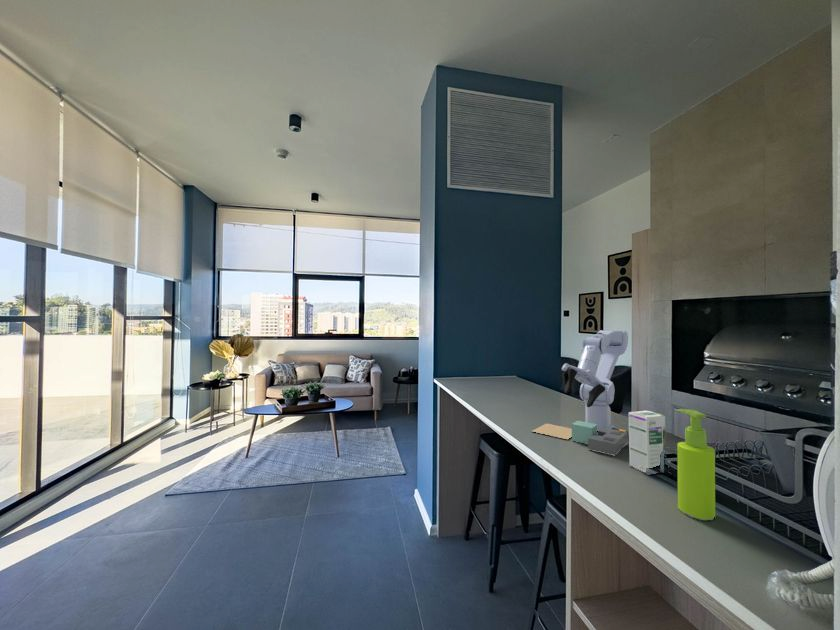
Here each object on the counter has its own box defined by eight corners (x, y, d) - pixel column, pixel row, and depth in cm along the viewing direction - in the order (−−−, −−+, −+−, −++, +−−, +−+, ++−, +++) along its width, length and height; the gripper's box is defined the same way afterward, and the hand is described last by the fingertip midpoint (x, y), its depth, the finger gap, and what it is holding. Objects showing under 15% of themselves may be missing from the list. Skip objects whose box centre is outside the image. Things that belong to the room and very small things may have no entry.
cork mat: (546, 424, 129) (546, 423, 129) (580, 431, 121) (580, 430, 121) (531, 432, 120) (531, 431, 120) (567, 440, 112) (567, 439, 112)
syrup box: (648, 476, 87) (648, 416, 87) (628, 466, 92) (628, 410, 92) (666, 473, 88) (666, 415, 88) (645, 464, 94) (645, 409, 94)
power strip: (602, 438, 114) (602, 425, 114) (627, 443, 109) (627, 430, 109) (588, 450, 104) (588, 436, 104) (614, 456, 99) (614, 442, 99)
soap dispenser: (694, 502, 75) (693, 406, 75) (723, 521, 68) (722, 415, 68) (666, 502, 74) (666, 407, 75) (693, 521, 67) (692, 416, 68)
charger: (577, 437, 115) (577, 420, 115) (605, 443, 109) (605, 426, 109) (571, 441, 111) (571, 424, 111) (600, 448, 106) (600, 429, 106)
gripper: (574, 348, 114) (563, 381, 107) (616, 372, 112) (608, 407, 105) (563, 358, 120) (551, 389, 112) (602, 381, 118) (593, 415, 110)
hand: (578, 398), depth 109 cm, fingers open, 7 cm apart
